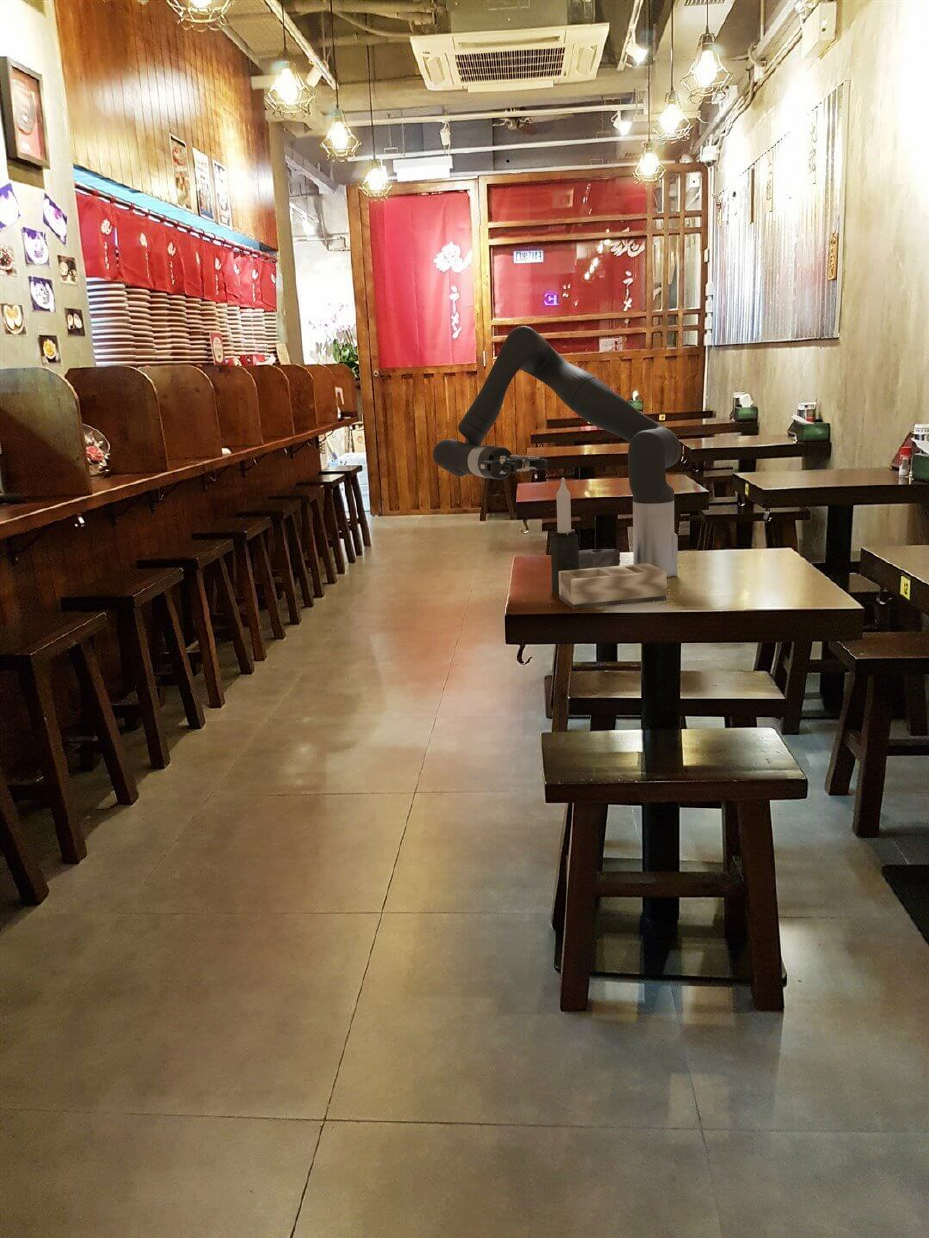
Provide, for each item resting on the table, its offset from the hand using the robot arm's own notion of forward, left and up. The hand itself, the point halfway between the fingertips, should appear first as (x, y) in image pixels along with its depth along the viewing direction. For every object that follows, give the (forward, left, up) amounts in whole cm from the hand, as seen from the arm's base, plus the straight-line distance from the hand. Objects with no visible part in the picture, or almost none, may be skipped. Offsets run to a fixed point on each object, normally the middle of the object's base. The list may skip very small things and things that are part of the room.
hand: (531, 466), depth 213 cm
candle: (-4, +10, -27) cm, 29 cm away
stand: (-11, +20, -27) cm, 35 cm away
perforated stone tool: (-13, -2, -27) cm, 30 cm away
